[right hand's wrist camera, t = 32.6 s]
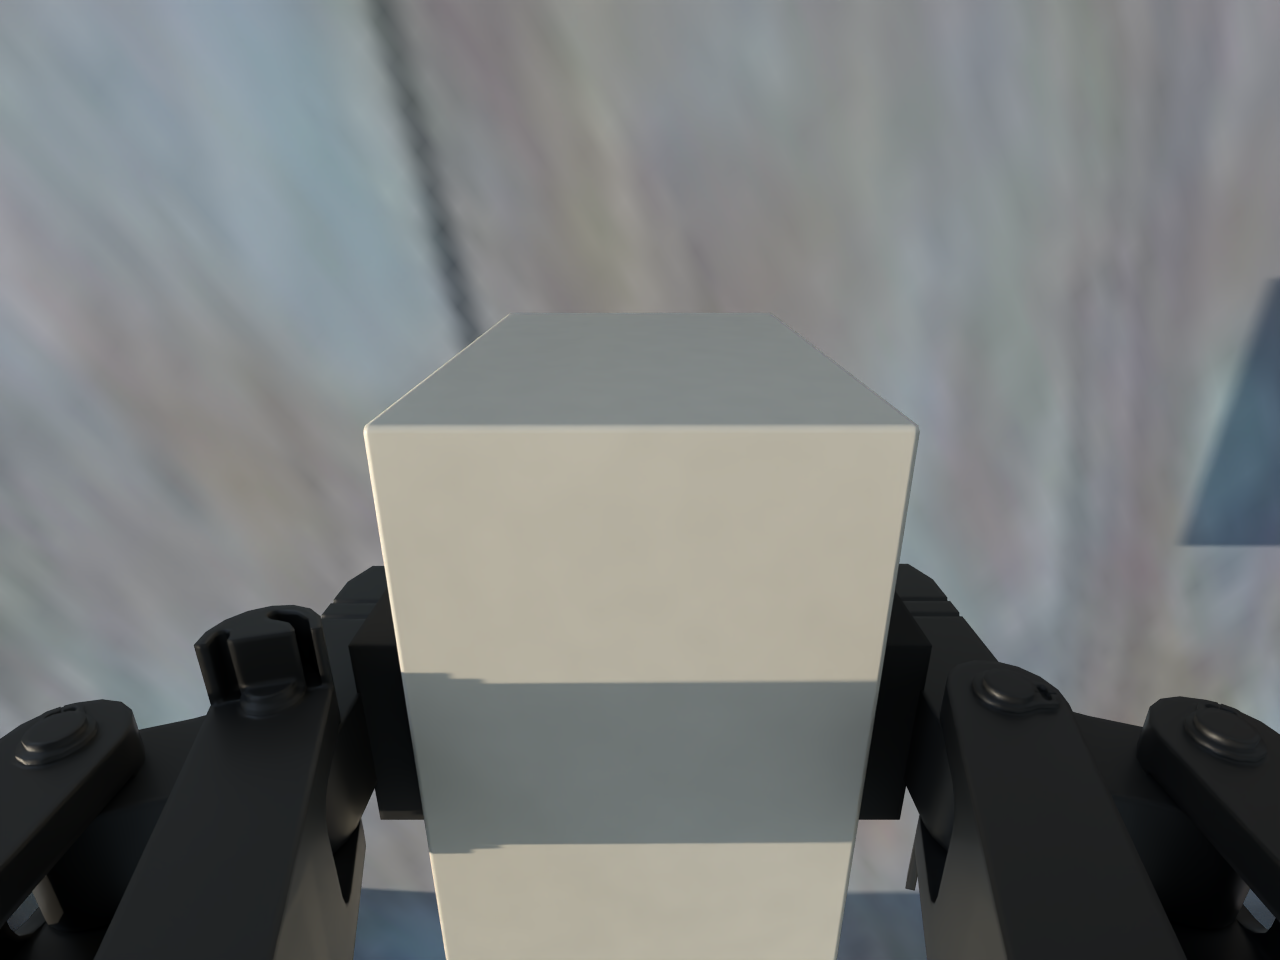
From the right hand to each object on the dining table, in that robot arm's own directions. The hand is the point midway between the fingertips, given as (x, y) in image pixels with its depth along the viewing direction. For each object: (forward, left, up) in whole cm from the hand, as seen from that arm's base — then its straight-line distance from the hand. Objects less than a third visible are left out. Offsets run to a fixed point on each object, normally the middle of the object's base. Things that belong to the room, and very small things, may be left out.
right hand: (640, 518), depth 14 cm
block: (0, 0, -1) cm, 1 cm away
